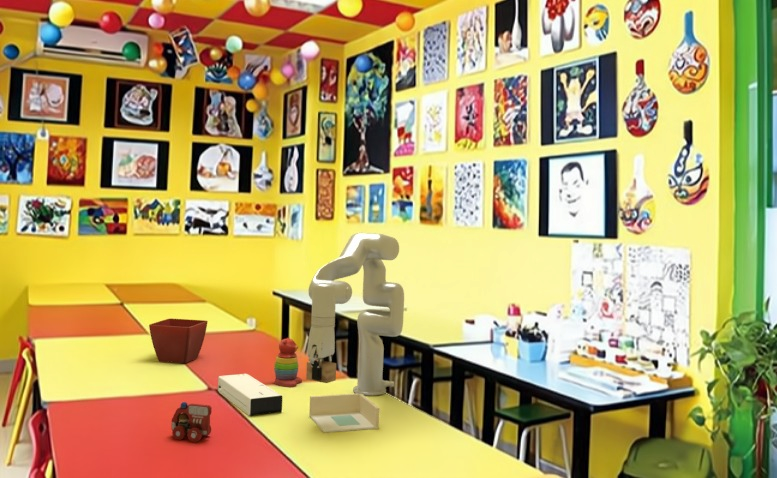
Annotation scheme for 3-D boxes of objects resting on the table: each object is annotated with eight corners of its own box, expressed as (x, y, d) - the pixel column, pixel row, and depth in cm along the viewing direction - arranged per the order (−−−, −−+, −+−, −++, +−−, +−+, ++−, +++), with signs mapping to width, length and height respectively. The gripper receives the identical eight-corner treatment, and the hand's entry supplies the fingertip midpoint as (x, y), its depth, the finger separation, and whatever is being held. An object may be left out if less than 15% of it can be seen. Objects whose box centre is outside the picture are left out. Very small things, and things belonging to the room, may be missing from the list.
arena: (360, 412, 231) (361, 393, 231) (378, 428, 215) (379, 407, 214) (309, 415, 225) (310, 396, 225) (323, 432, 208) (324, 411, 208)
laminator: (281, 413, 228) (282, 395, 227) (246, 418, 221) (247, 399, 221) (246, 389, 256) (247, 373, 256) (214, 392, 250) (215, 376, 250)
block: (335, 380, 217) (336, 363, 217) (326, 383, 213) (327, 365, 212) (315, 376, 221) (315, 359, 221) (306, 379, 217) (306, 362, 216)
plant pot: (146, 362, 292) (147, 324, 291) (168, 354, 311) (169, 317, 310) (188, 366, 289) (189, 327, 288) (207, 357, 308) (208, 320, 307)
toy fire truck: (179, 431, 204) (180, 397, 204) (216, 437, 200) (217, 402, 200) (165, 438, 197) (166, 403, 197) (203, 444, 194) (204, 408, 193)
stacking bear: (294, 387, 260) (295, 341, 260) (269, 385, 262) (271, 339, 262) (303, 381, 271) (305, 337, 270) (279, 379, 273) (281, 335, 272)
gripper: (325, 317, 225) (324, 370, 226) (299, 324, 210) (297, 382, 210) (345, 319, 222) (343, 373, 223) (320, 326, 207) (318, 385, 207)
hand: (321, 377), depth 217 cm, fingers closed on block, 5 cm apart
